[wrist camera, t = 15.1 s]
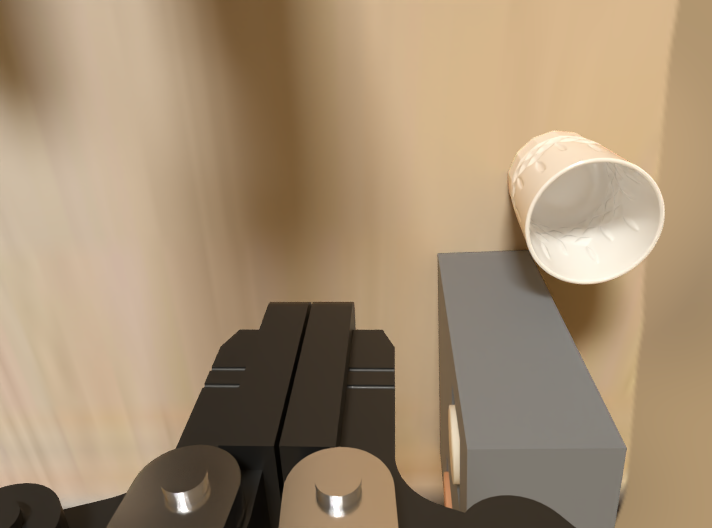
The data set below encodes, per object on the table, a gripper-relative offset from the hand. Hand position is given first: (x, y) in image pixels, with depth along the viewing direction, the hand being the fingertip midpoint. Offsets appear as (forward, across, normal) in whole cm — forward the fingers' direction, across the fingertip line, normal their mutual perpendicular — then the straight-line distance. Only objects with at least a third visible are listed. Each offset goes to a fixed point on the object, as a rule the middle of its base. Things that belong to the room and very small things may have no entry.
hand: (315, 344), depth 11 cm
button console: (+33, -9, +25) cm, 42 cm away
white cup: (+34, -13, +9) cm, 37 cm away
